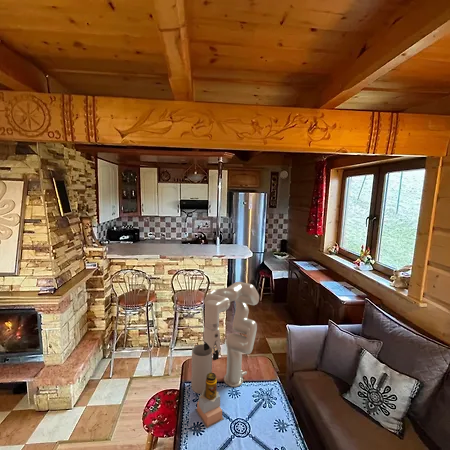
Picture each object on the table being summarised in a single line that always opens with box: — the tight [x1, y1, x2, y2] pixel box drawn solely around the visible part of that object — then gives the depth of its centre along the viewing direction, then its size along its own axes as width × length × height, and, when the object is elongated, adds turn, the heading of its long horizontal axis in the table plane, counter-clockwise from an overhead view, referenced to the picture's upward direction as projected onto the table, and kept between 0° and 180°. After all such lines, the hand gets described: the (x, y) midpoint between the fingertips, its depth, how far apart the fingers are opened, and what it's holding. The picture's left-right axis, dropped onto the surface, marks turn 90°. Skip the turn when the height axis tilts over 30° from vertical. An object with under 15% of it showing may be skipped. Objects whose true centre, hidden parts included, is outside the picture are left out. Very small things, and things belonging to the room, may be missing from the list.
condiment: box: [199, 372, 219, 402], centre depth 145 cm, size 7×8×12 cm
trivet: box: [194, 408, 225, 429], centre depth 147 cm, size 11×14×1 cm
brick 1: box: [198, 393, 221, 414], centre depth 146 cm, size 10×6×6 cm, turn 122°
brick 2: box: [196, 400, 223, 426], centre depth 146 cm, size 12×9×5 cm
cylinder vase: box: [190, 343, 213, 394], centre depth 166 cm, size 12×12×25 cm
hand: (211, 354), depth 142 cm, fingers open, 9 cm apart
